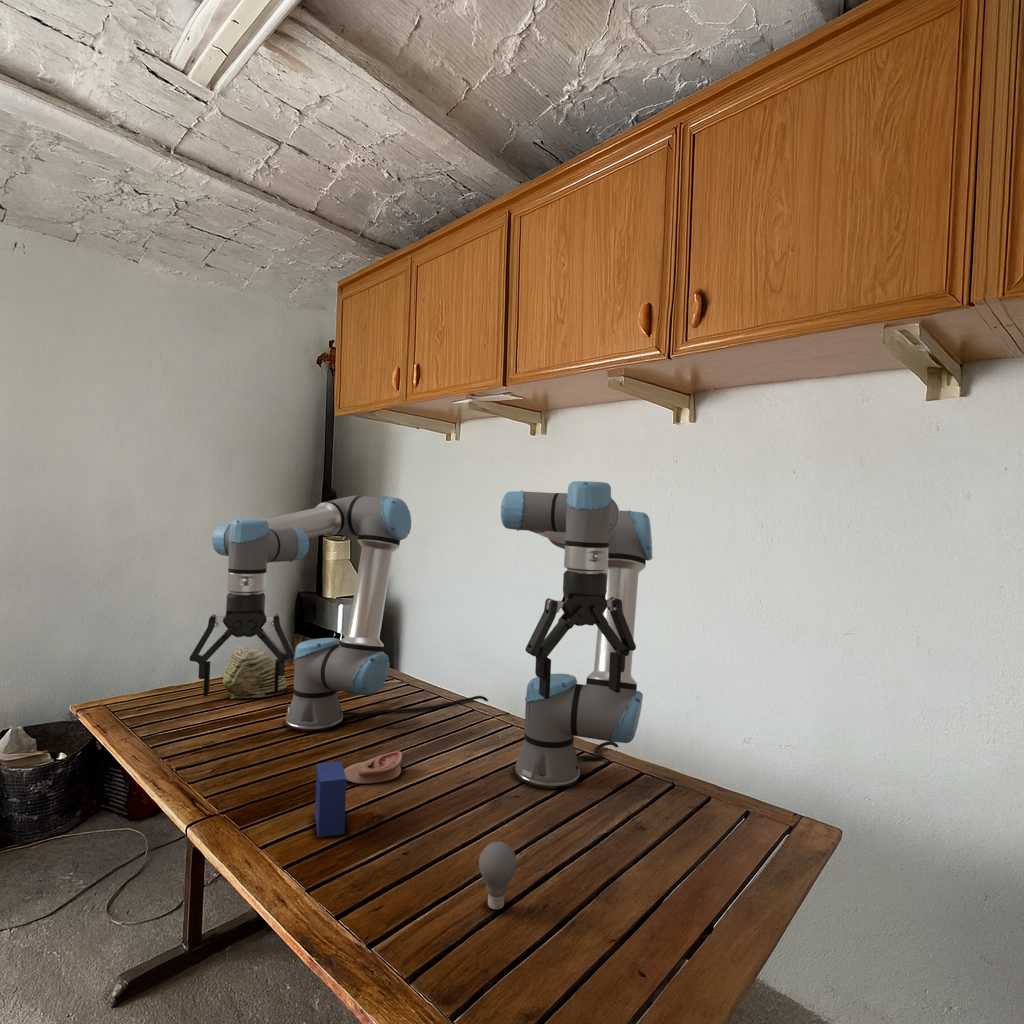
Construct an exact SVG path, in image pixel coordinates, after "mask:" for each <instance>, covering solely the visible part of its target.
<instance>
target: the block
mask: <svg viewBox="0 0 1024 1024" xmlns="http://www.w3.org/2000/svg"><path fill="white" fill-rule="evenodd" d="M344 769H345V768H344V766H343V763H342V761H341V760H340V761H330V762H329V761H328V762H319V763H316V776H315V801H314V802H315V803H314V821H315V826H316V832H317V838H319V839H320V838H326V837H334V836H340V835H345V826H346V822H345V821H346V798H347V797H346V796H347V780H346V776H345V772H344Z"/></svg>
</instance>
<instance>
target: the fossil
mask: <svg viewBox="0 0 1024 1024" xmlns="http://www.w3.org/2000/svg"><path fill="white" fill-rule="evenodd" d="M222 676H223V677H222V685H223V687H224V688H225V690H226V691H228V693H229V698H230V699H250V698H264V697H271V696H275V695H281V694H284V693H285V691H286V689H287V687H288V686H287V680H286V678H285V675H283V676H279V678H278V693H274V682H275V662H274V660H273V659H272V658H271V657H270V656H269V655H268V654H267V653H266V652H265V650H264V649H263V648H260V647H258V648H251V647H247V646H246V647H245V646H238V647H237V648H236V649H235V650H233V651H232V653H231V656H230V657H229V659H228V660H227V663H226V666H225V668H224V671H223V675H222Z"/></svg>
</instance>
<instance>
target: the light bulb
mask: <svg viewBox="0 0 1024 1024" xmlns="http://www.w3.org/2000/svg"><path fill="white" fill-rule="evenodd" d="M517 865H518V860H517V856H516V854H515V851H514V849H513V848H512V847H511V846H510V845H509V844H507V843H506V842H503V841H493V842H491V843H488V844H487V845H486V846H485V847H484V848H483V850H482V851H481V852H480V855H479V857H478V869H479V872H480V875H481V877H482V879H483V881H484V883H485V889H486V891H487V895H488V896H487V906H488V907H489V908H490V909H493V910H500V909H502V908H503V907H504V906H505V895H506V893H507V890H508V886H509V883H510V881H512V878H513V877H514V876H515V873H516V870H517Z"/></svg>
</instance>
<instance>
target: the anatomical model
mask: <svg viewBox="0 0 1024 1024" xmlns="http://www.w3.org/2000/svg"><path fill="white" fill-rule="evenodd" d="M402 761H403V754H402V751H399V750H397V751H391V752H387V753H384V754H381V755H377V756H375V757H373V758H370V759H367V760H365V761H361V762H355V763H353V764H351V765H349V766H347V767H345V768H343V769H344V772H345V776H346V781H347V782H350V783H352V784H353V783H354V784H375V783H383V782H387V781H391V780H393V779H396V778H398V777H399V776H400V774H401V772H402V767H401V763H402Z"/></svg>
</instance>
